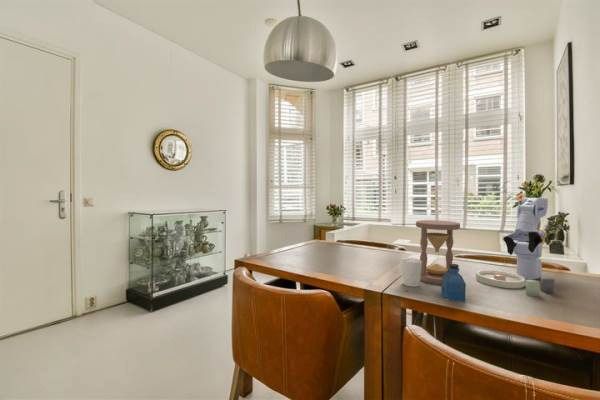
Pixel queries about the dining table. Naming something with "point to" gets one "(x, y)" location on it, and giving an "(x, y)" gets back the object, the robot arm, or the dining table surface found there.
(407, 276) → the white cup
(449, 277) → the perfume bottle
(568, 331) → the dining table surface
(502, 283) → the groove tray
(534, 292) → the pale green rounded block
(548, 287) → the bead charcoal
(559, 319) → the dining table surface
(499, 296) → the dining table surface
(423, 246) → the hourglass
